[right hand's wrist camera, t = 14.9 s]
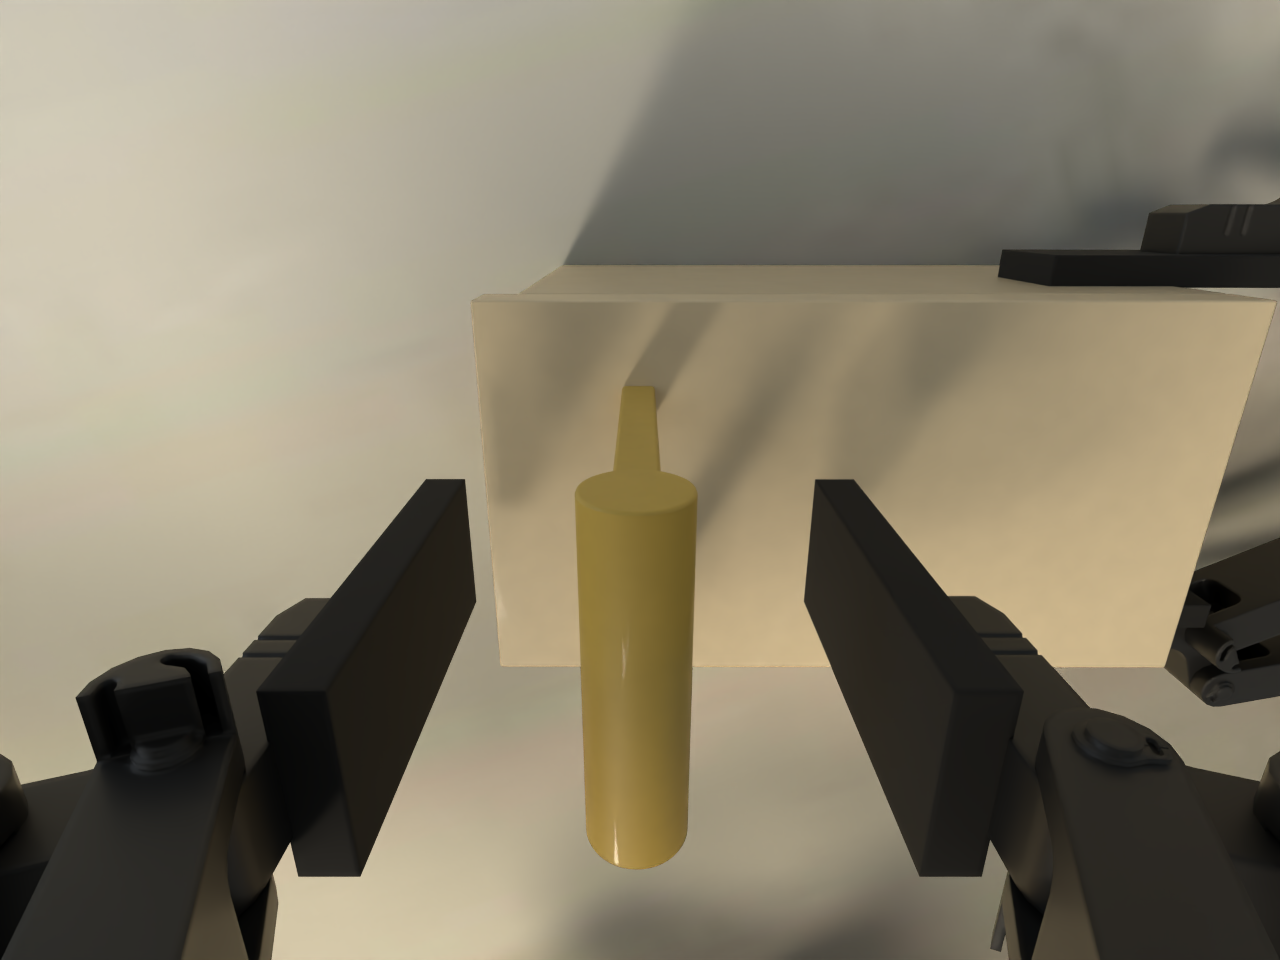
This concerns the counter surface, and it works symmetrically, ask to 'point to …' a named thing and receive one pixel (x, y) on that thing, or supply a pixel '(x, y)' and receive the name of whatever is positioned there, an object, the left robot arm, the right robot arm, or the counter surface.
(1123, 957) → the right robot arm
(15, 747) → the counter surface
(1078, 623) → the lid
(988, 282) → the chest
